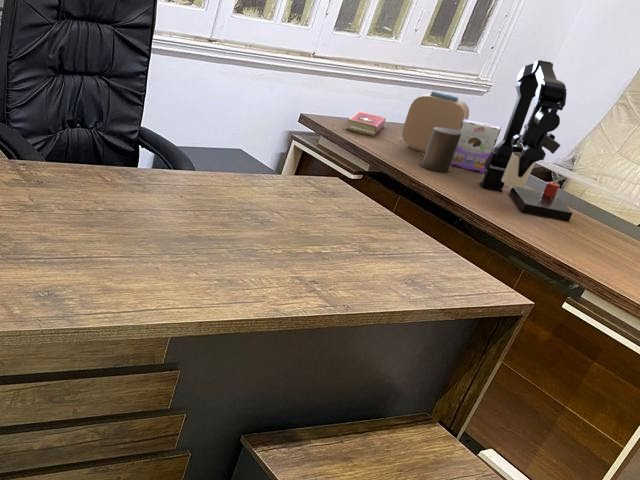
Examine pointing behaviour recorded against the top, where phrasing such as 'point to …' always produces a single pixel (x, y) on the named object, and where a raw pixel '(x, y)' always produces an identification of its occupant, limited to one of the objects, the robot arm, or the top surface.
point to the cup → (515, 172)
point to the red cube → (551, 189)
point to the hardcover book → (366, 122)
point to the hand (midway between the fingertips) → (517, 173)
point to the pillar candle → (441, 149)
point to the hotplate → (540, 204)
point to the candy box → (475, 145)
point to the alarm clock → (432, 118)
